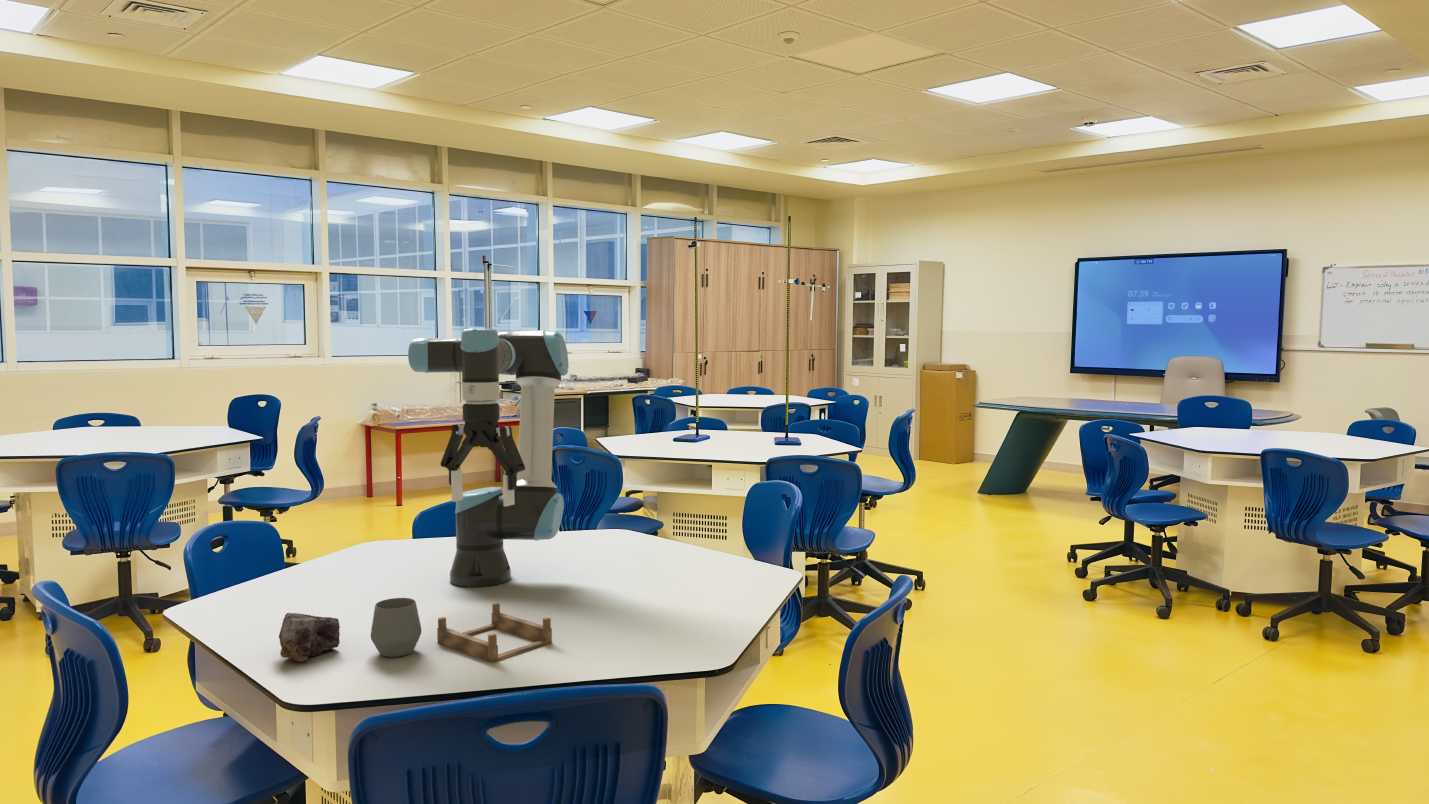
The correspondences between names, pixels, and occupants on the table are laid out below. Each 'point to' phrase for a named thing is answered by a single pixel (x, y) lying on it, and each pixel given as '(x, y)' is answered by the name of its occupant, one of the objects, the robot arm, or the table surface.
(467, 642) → the frame
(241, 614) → the table surface
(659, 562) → the table surface
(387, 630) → the cup
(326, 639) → the rock
